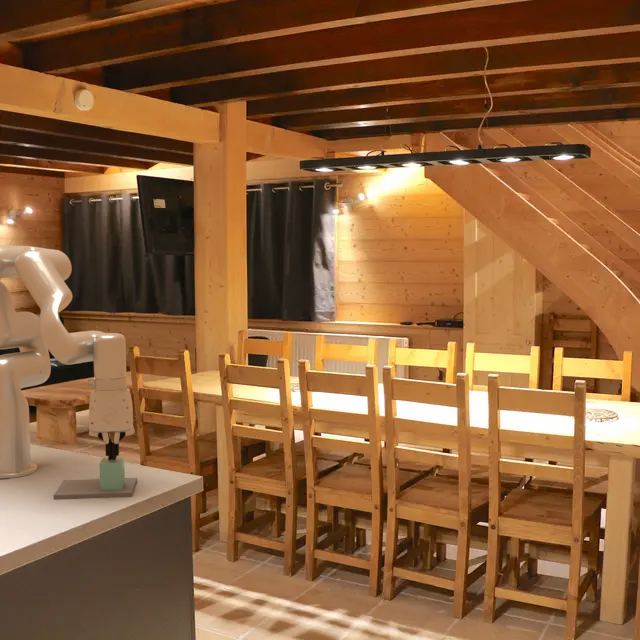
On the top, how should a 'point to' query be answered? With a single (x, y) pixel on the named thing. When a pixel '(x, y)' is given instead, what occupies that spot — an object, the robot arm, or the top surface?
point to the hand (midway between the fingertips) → (112, 458)
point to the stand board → (92, 489)
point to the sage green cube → (112, 474)
